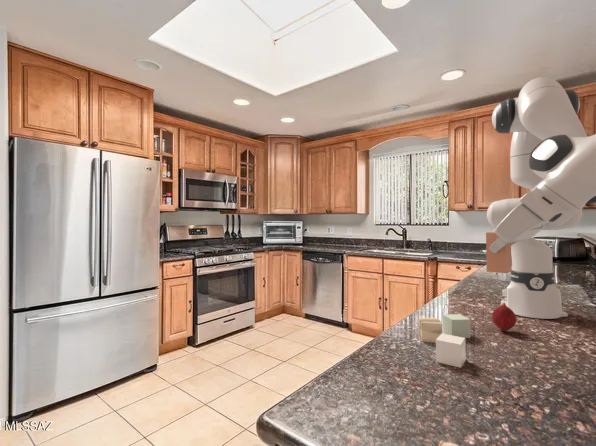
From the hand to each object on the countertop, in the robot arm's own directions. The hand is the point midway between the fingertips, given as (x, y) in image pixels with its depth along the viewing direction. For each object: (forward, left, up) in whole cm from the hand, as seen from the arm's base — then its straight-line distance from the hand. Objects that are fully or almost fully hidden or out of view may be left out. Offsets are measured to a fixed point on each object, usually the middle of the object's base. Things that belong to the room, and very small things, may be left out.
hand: (495, 250), depth 74 cm
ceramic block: (+7, -10, -24) cm, 27 cm away
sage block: (-12, -8, -24) cm, 28 cm away
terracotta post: (0, +1, -5) cm, 5 cm away
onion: (-20, +5, -25) cm, 32 cm away
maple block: (-6, -14, -24) cm, 29 cm away
